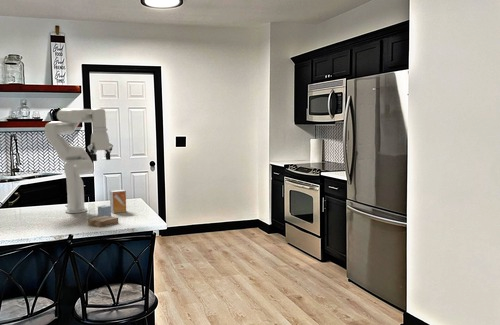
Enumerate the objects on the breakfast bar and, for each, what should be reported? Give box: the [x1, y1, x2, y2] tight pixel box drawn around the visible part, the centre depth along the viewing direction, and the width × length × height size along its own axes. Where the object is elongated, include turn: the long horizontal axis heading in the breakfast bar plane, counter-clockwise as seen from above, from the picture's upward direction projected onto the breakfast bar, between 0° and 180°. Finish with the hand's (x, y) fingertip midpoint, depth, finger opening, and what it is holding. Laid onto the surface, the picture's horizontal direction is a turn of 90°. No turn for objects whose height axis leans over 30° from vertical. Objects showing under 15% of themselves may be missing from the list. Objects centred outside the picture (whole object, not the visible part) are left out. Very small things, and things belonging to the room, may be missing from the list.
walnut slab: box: [87, 216, 119, 228], centre depth 248 cm, size 11×11×3 cm
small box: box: [109, 189, 127, 214], centre depth 280 cm, size 8×6×13 cm
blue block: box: [97, 204, 112, 217], centre depth 262 cm, size 5×5×7 cm
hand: (101, 160), depth 265 cm, fingers open, 9 cm apart
